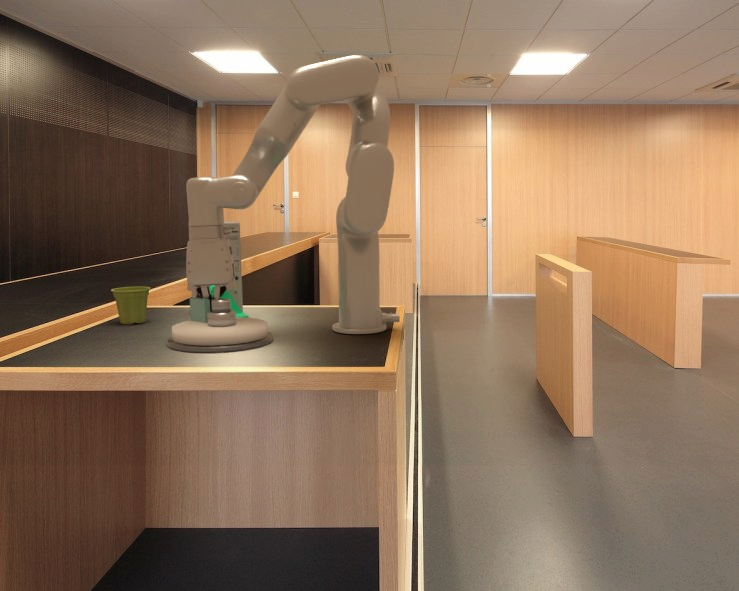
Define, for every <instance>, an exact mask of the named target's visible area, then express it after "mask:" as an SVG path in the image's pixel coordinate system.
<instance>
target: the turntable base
mask: <svg viewBox="0 0 739 591" xmlns="http://www.w3.org/2000/svg"><path fill="white" fill-rule="evenodd" d="M273 340H274V336H273V333H271V332H270V331H268V335H267V336H266V337H265V338H263V339H260V340H256V341H252V342H247V343H240V344H231V345H214V346H202V345H187V344H181V343H177V342H175V341H173V340H172V336H170V337H169V338H168V339H167V342H166V343H167V344H166V345H167V347H168V348H169V349H170V350H173V351H178V352H183V353H190V354H191V353H195V354H215V353H214V352H224V353H233V352H243V351H248V350H249V351H250V350H255V349H258V348H262V347H266V346H268V345H269V344H271V343H272V342H273Z"/></svg>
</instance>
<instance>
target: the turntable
mask: <svg viewBox="0 0 739 591" xmlns="http://www.w3.org/2000/svg"><path fill="white" fill-rule="evenodd" d="M209 311H210V300H209V299H202V298H192V297H190V298H189V312H190V317H189V318H190V320H185V321H182V322H178V323H175V324H174V325H172V327H171V337H172V340H173V341H175V342H177V343H181V344H187V345H202V346H214V345H231V344H240V343H247V342H252V341H256V340H260V339H263V338H265V337H266V336H267V335H268V332H269V331H268V330H269V327H268V326H269V325H268V324H269V323H268V322H267V321H266V320H264V319H261V318H254V317H249V318H244V317H236V325H234V326H229V327H209V326H208V322H207V312H209Z"/></svg>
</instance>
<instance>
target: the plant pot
mask: <svg viewBox="0 0 739 591" xmlns="http://www.w3.org/2000/svg"><path fill="white" fill-rule="evenodd" d="M150 290H151V287H149V286H123V287H117V288H111V290H110V292H111V293H112V295H113V298H114V299H115V304H116V308H117V314H118V318H119V323H120V324H122V325H132V324H133V325H134V324H135V323H137V324H142V323H146V321H147V311H148V310H147V307H148V297H149V294H150Z"/></svg>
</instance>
